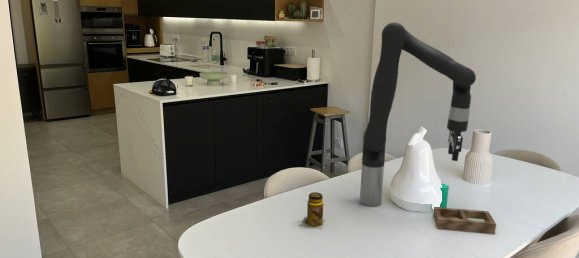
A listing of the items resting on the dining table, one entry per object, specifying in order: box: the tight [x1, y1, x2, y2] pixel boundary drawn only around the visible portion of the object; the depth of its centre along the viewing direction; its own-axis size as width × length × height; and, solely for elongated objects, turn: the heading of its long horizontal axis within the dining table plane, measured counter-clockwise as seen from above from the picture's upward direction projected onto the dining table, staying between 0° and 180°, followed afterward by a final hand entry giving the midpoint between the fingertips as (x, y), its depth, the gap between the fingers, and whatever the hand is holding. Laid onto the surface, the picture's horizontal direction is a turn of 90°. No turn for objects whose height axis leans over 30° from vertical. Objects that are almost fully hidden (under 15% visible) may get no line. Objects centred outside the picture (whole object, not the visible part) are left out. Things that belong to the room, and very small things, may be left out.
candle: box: [440, 181, 450, 208], centre depth 182 cm, size 6×6×12 cm
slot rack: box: [432, 207, 497, 235], centre depth 170 cm, size 20×11×4 cm, turn 80°
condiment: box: [299, 191, 326, 229], centre depth 168 cm, size 7×8×12 cm
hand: (452, 157), depth 178 cm, fingers open, 8 cm apart
